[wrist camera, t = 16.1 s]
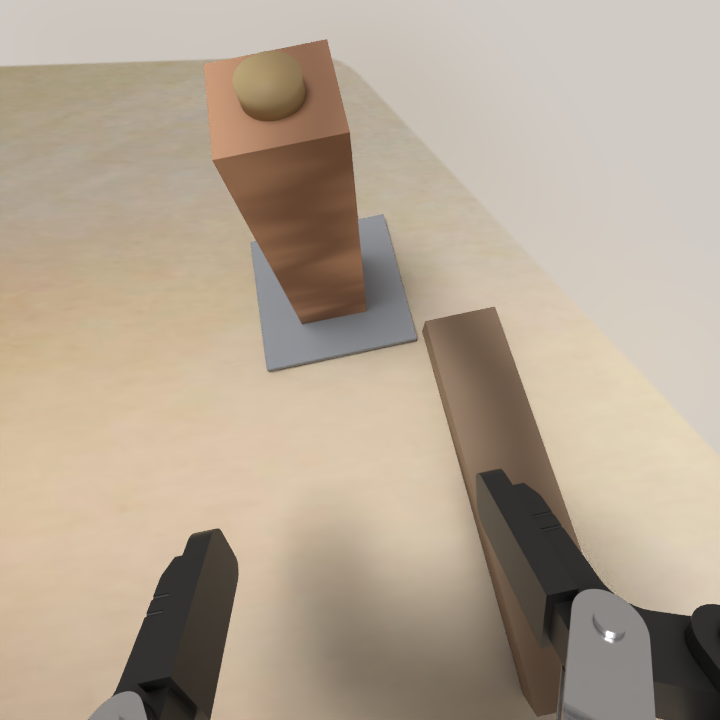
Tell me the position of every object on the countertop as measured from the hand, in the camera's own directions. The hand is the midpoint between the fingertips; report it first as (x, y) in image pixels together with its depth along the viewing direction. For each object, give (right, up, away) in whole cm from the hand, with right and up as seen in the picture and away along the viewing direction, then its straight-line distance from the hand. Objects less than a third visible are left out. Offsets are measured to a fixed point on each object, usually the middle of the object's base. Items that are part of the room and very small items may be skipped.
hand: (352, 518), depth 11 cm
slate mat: (-2, +9, +12) cm, 15 cm away
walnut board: (+8, -1, +8) cm, 11 cm away
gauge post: (-2, +9, +11) cm, 15 cm away
